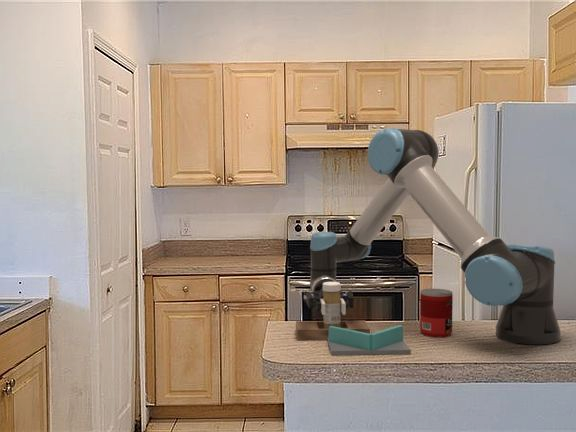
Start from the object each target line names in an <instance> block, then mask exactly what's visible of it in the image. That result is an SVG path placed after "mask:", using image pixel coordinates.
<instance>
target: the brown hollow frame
mask: <svg viewBox="0 0 576 432" xmlns="http://www.w3.org/2000/svg"><path fill="white" fill-rule="evenodd" d="M340 326H341V328H344V329H349V330H354V331H359V332H364V333H369V334H371V328H370V327H369V325H368V323H367V322H366V320H357V319H356V320H355V319H354V320H341V321H340ZM295 333H296V340H297V341H327V338H329V329H324V320H299V321H297V320H296V321H295Z"/></svg>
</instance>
